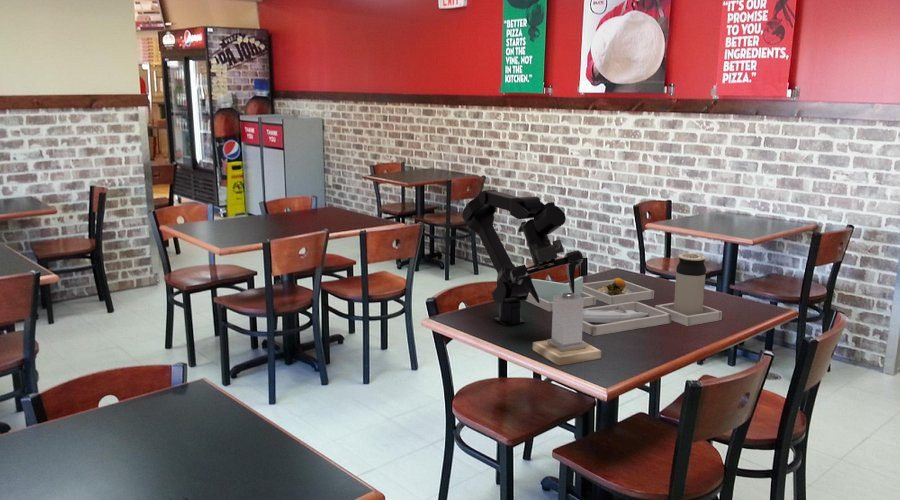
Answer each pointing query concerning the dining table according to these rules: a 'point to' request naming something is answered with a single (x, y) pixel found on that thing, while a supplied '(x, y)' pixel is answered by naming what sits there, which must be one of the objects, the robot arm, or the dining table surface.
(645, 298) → the tray
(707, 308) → the mug tray rim
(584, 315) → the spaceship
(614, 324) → the casing tray rim
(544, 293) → the right angle wall
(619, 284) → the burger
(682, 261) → the travel mug
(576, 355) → the stand
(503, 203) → the robot arm
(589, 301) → the coaster tray rim
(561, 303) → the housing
